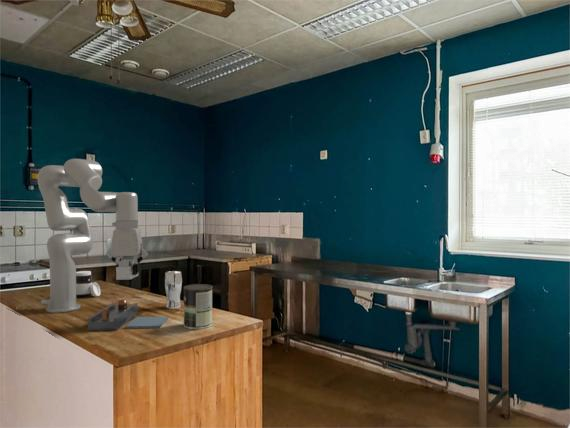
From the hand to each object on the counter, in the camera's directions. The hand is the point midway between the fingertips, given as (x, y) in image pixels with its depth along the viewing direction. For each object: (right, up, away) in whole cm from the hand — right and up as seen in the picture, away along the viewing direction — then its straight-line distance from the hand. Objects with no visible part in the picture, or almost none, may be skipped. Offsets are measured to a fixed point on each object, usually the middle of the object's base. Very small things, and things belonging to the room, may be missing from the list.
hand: (127, 274), depth 149 cm
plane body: (-6, -18, +1) cm, 19 cm away
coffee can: (+27, -18, -3) cm, 33 cm away
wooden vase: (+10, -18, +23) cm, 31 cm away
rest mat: (+8, -18, -1) cm, 20 cm away
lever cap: (0, -1, 0) cm, 1 cm away
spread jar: (-37, -17, +44) cm, 60 cm away
